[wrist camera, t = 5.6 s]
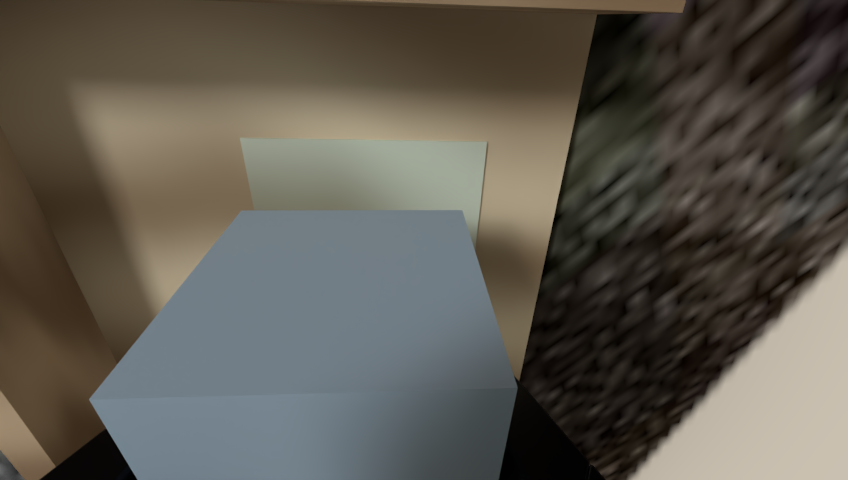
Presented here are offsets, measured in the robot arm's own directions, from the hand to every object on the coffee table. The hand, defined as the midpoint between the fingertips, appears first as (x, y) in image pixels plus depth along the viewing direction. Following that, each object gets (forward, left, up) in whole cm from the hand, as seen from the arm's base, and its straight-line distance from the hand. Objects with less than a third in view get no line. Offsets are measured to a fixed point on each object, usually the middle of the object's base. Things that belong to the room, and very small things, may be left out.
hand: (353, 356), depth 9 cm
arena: (+1, +2, -5) cm, 6 cm away
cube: (0, 0, -2) cm, 2 cm away
